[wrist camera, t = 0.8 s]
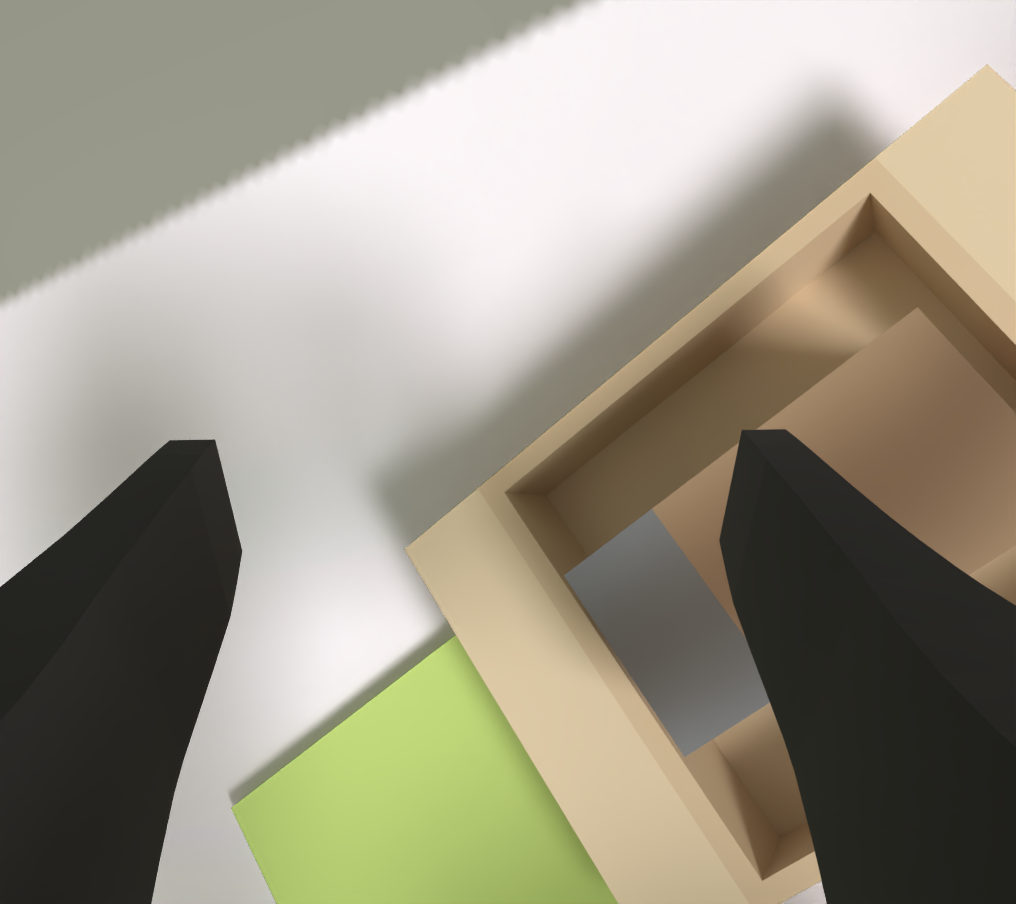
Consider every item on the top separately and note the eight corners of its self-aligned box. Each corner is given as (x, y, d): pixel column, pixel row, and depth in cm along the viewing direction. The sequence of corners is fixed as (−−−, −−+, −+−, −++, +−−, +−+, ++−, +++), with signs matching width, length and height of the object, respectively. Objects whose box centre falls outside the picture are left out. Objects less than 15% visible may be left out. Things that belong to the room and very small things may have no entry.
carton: (1383, 516, 19) (1479, 516, 16) (691, 912, 25) (658, 970, 22) (976, 126, 23) (987, 64, 20) (460, 545, 29) (404, 549, 25)
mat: (658, 913, 25) (652, 922, 25) (374, 1077, 29) (364, 1088, 28) (478, 621, 28) (469, 624, 28) (242, 803, 32) (231, 807, 31)
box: (1038, 502, 21) (1092, 495, 15) (744, 693, 24) (685, 756, 18) (915, 365, 23) (917, 306, 16) (650, 561, 25) (563, 575, 19)
